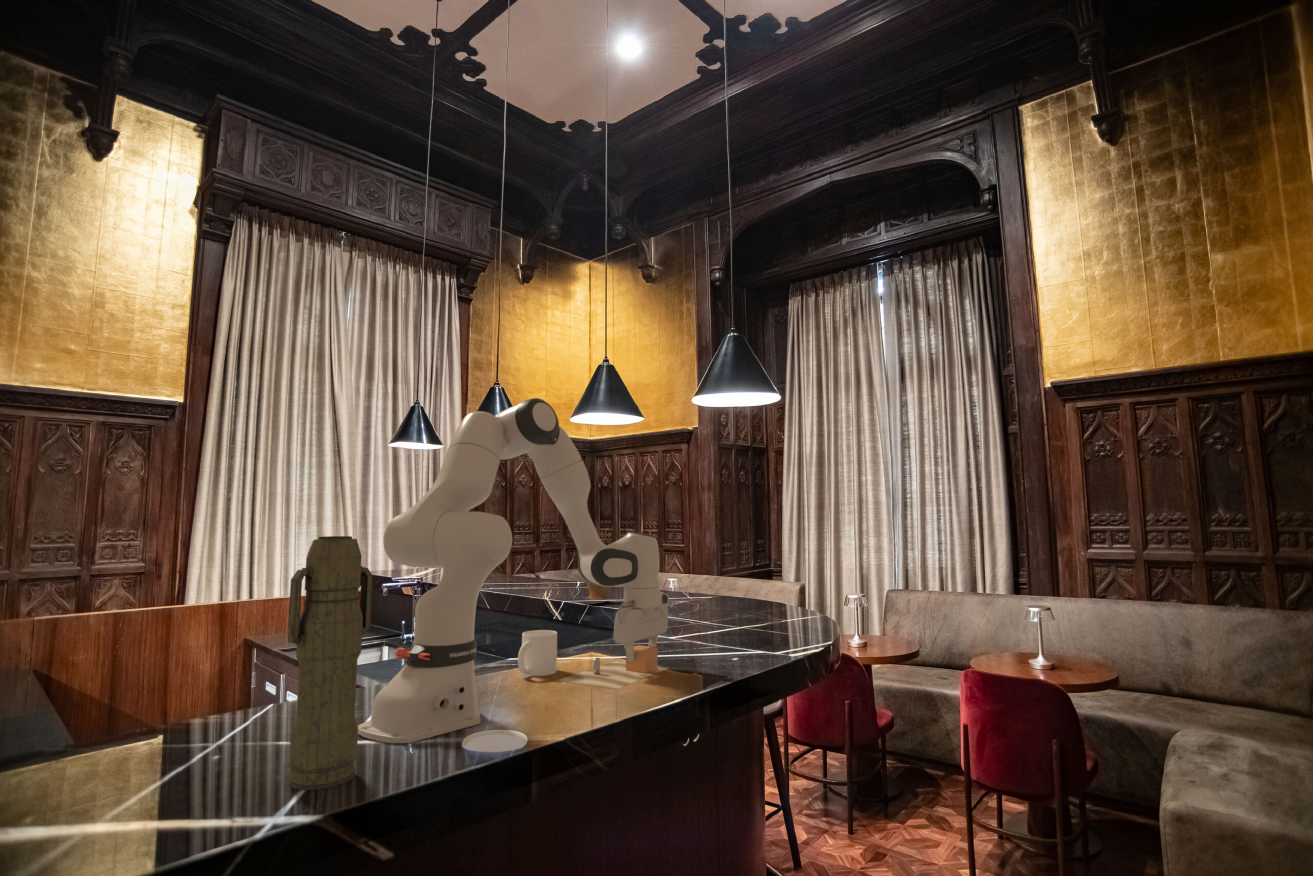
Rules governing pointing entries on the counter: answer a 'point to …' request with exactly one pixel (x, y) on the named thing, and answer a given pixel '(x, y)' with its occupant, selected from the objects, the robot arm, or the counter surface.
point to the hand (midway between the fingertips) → (641, 657)
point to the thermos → (327, 661)
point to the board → (610, 676)
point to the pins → (596, 665)
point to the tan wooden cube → (643, 659)
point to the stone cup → (596, 592)
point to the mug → (538, 653)
